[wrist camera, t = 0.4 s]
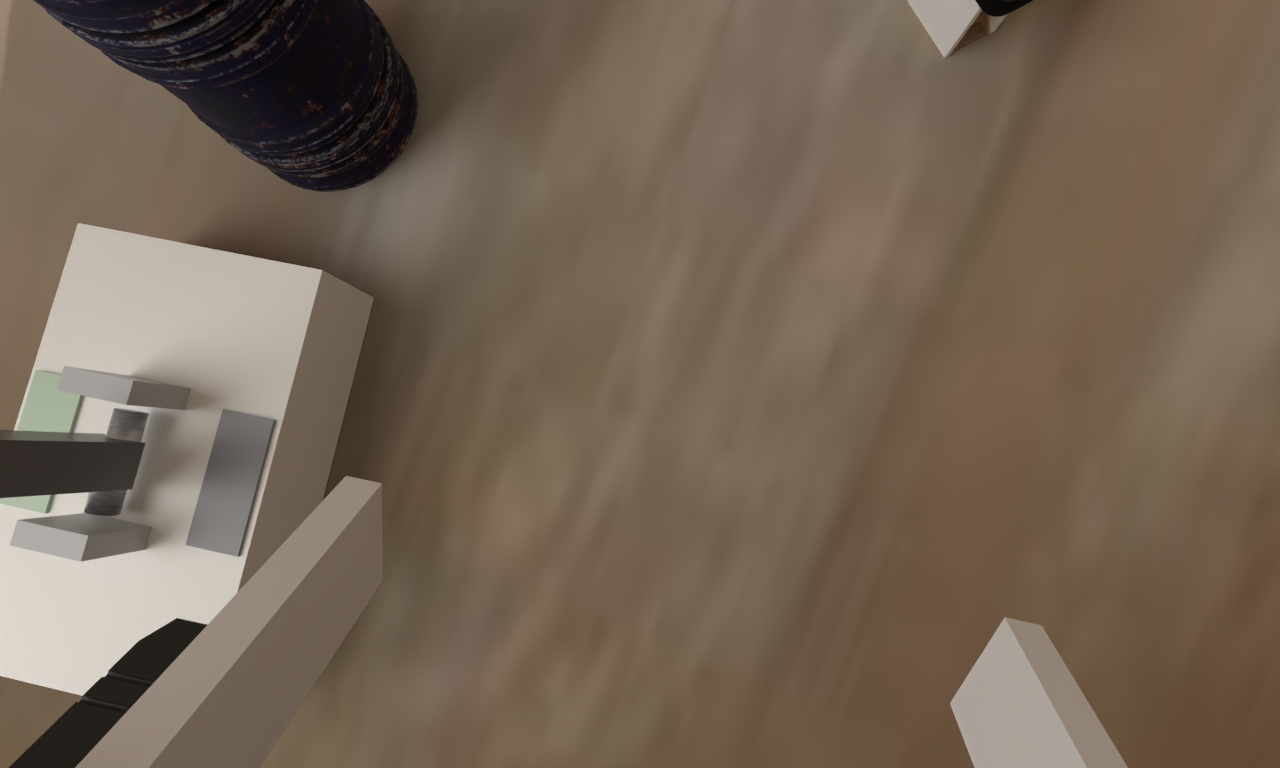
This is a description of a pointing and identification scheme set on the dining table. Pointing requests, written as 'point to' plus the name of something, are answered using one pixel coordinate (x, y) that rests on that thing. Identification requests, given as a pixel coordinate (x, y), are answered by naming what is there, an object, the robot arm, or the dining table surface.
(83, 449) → the switch lever
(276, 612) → the robot arm
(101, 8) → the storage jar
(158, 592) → the switch box
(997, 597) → the dining table surface
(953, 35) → the grey bin
